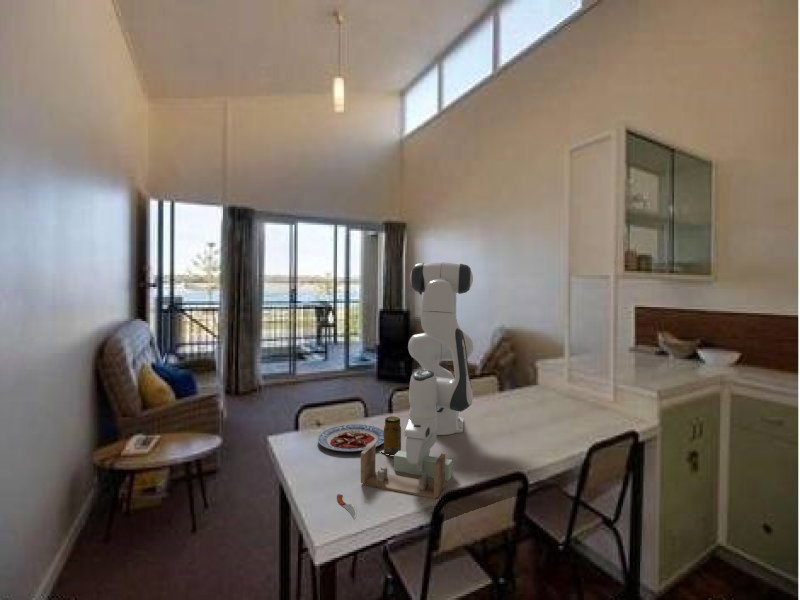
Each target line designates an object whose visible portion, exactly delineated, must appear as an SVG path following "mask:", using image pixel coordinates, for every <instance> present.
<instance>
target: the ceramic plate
mask: <svg viewBox="0 0 800 600" xmlns="http://www.w3.org/2000/svg"><path fill="white" fill-rule="evenodd" d="M317 443H319V444H320V446H322V447H323V448H325V449H329V450H332V451H338V452H360V451H361V452H362V451H364V450H365V449H366V448H367V447H368V446H369V445H370V444H371V443H374V444H375V448H377V447H379V446H381V445H384V429H382V428H380V427H377V426H374V425H371V424H370V425H368V424H363V423H362V424H360V423H359V424H356V423H354V424H351V423H350V424H344V425H337V426H334V427H330V428H328V429H326V430H324V431H322V432H320V434H318V437H317Z"/></svg>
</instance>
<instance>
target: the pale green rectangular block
mask: <svg viewBox="0 0 800 600" xmlns="http://www.w3.org/2000/svg"><path fill="white" fill-rule="evenodd" d="M438 458H439V456H431V455H429V456H425V457H424V458H423V461H422V463H423V470H422V471H417V465H415V464H409V463H408V461H407V457H406V452H403V451H398V452H397V453H396V454H395V455H394V458H393V471H395V470H396V472H401V473H406V474H412V475H417V476H421V477H422V474H428V475H429V478H432V479H434V464H435V462H436V461H437V459H438ZM452 476H453V459H448V458H445V481H447V482H449V480H450V479H451V478H452Z"/></svg>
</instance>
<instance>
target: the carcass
mask: <svg viewBox="0 0 800 600" xmlns="http://www.w3.org/2000/svg"><path fill="white" fill-rule="evenodd" d="M445 459H446V453H441V454H440V455H439V456H438V459H437V461H436V462H435V464H434V478H433V481H429V478H430V477H429V475H428V474H422V476H421V477H419V478H418V479H417V478H414V477H413V478H412V477H407V476H401V475H396V474H389V473H388V467H387V466H381V467H380V470H378V471H376V447H375V444H374V443H371V444H370V445H369V446H368V447H367V448H366V449H365V450H361V452H360V483H361V484H362V485H363V486H365V485H366V487H371V486H372V487H371V488H376V487H377V489H381V488H383V489H382V490H386V489H387V490H388V491H393V492H397V493H398V492H399V493H403V494H408V495H414V496H419V497H424V498H429V499H434V500H436V499H437V498H439V496H440V494H441V492H442V490H443V489H444V487H445V485H446V480H445Z"/></svg>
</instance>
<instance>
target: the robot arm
mask: <svg viewBox="0 0 800 600" xmlns="http://www.w3.org/2000/svg"><path fill="white" fill-rule="evenodd" d="M409 282H410V284H411V285H410V286H411V287H412V289H413V291H415V292H417V293H419V295H421V296H422V295H423V297H422V301H421V313H420V314H421V315H420V323H421V324H420V325H421V328H422V330H423V333H416V334H413V335H412V336H411V337H410V338H409V340H408V344H407V345H408V346H407V349H408V353H409V355H410V356H411V358H413V359H414V361H416V362H417V363H418V364H419V365H420V366H421V368H422V369H423V370H422V369H421V370H418V371H415V372H413V373H412V374H411V376H410V381H409V388H408V389H409V390H408V391H409V392H408V402H409V406H410V407H409V411H408V421H407V424H406V427H405V429H404V437H405V438H406V440H405V451H406V457H407V461H408V463H409V464H415V465H417V471H422V470H423V463H422V461H423V458H424V457H425V456H430V454H431V449H432V448H433V446H434V445H435V444H436V443H437V438H438V437H437V436H445V435H452V434H458V433H460V434H461V433H464V421H465V420H464V417H461V416H459V412H460V413H461V412H463V411H465V410H467V409H468V408H469V407H470V406H472V403H473V400H474V398H473V397H474V395H473V394H474V393H473V387H472V382H471V379H470V371H469V369H470V368H469V362H468V359H469V358H470V357H471V356H472V354H473V351H474V342H473V339H472V338H471V337H470V336H469V335H468V334H467V333H465V332H464V331H463V330H462V329H461V328H460V325H459V323H458V319H457V294H458V295H460V294H465V293H467V292H469V291H470V290H471V287H472V285H473V282H474V275H473V271H472V270H471V267H470V266H469V265H467V264H463V263H459V264H458V263H452V262H428V263H425V262H421V263H420V262H419V263H416V264H414V265H413V266H412V269H411V271H410V275H409ZM441 361H446V362H447V361H450V362H451V361H452V362H453V363H452V364H453V370H454V371H453V372H454V374H453V373H452V372H451V371H449V370H448V369H446V368H444V367H443V366H441V365H440V364H439V362H441Z"/></svg>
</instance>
